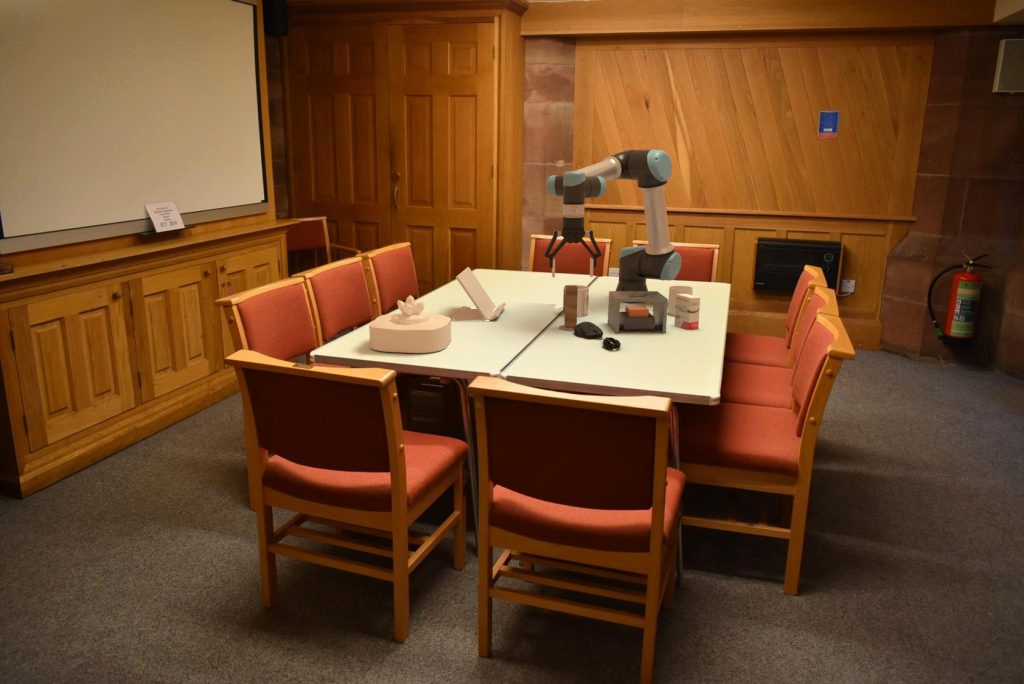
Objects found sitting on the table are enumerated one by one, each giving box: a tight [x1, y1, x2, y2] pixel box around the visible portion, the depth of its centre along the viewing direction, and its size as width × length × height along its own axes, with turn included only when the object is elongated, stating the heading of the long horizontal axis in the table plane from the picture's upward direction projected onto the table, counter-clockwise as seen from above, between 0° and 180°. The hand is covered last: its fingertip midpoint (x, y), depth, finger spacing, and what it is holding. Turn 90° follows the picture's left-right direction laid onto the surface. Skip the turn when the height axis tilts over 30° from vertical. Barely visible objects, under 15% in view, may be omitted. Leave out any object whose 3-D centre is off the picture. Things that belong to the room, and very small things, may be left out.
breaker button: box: [624, 305, 650, 317], centre depth 281 cm, size 7×7×6 cm
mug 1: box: [562, 284, 590, 318], centre depth 302 cm, size 10×12×11 cm
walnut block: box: [563, 284, 578, 328], centre depth 279 cm, size 4×4×15 cm
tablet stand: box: [450, 266, 507, 321], centre depth 302 cm, size 18×25×17 cm
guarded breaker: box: [607, 290, 669, 334], centre depth 281 cm, size 16×18×12 cm
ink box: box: [674, 294, 701, 331], centre depth 284 cm, size 8×5×12 cm, turn 26°
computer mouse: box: [573, 321, 622, 350], centre depth 263 cm, size 8×28×5 cm, turn 23°
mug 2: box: [667, 285, 693, 317], centre depth 306 cm, size 12×9×11 cm
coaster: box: [558, 324, 574, 332], centre depth 281 cm, size 8×8×1 cm
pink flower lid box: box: [368, 294, 452, 354], centre depth 256 cm, size 25×25×16 cm
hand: (572, 276), depth 277 cm, fingers open, 13 cm apart
